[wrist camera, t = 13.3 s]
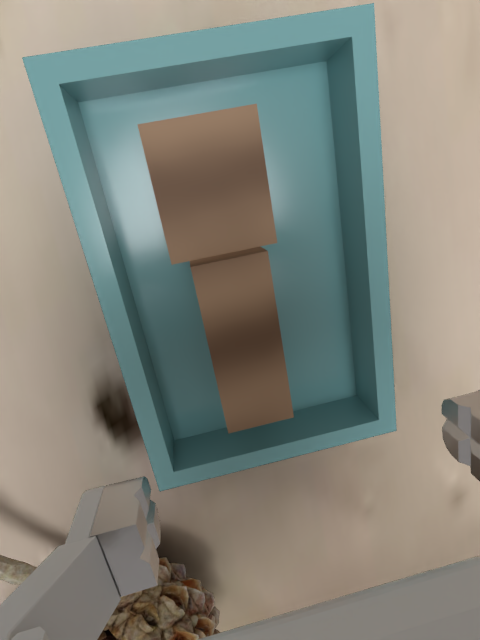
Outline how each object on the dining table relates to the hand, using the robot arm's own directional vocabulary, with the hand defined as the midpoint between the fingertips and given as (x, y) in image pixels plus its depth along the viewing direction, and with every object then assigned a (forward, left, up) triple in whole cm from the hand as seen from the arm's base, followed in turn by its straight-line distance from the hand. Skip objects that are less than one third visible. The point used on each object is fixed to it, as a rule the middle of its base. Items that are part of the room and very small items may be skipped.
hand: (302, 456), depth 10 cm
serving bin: (+2, -1, -16) cm, 16 cm away
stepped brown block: (+2, 0, -16) cm, 16 cm away
